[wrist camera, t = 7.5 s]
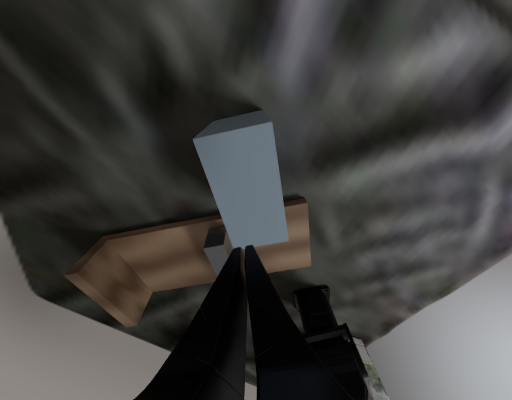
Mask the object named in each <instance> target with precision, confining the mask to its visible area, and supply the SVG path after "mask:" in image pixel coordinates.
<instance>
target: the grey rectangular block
mask: <svg viewBox="0 0 512 400" xmlns="http://www.w3.org/2000/svg"><path fill="white" fill-rule="evenodd" d="M203 249H204V251H205V253H206V255H207V257H208V259H209V261H210V263H211V265H212V267H213V269H214V271H215V273H216V275H217V276H218V275H219V273H220V271H221V269H222V268H223V266H224V264H225V262H226V261H227V259H228V257H229V255H230V253H231V252H232V250H233V246H232V243H231V241H230V238H229V235H228V233H227V230H226V227H225V225H224V226H218V227H213V228H209V230H208V233H207V237H206V240H205V244H204V247H203Z"/></svg>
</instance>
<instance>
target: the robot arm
mask: <svg viewBox="0 0 512 400" xmlns="http://www.w3.org/2000/svg"><path fill="white" fill-rule="evenodd" d="M294 298H295V304H296V310H297V311H298V312H300V315H301V320H302V324H303V328H304V332H305V334H301V332H300V331H299V329H298V328H297V326H296V325H295V323H294V322H293V320H292V318H291V317H290V315H289V314H288V312H287V310H286V308H285V307H284V305H283V303H282V301H281V299H280V297H279V296H278V293H277V291H276V289H275V287H274V285H273V283H272V281H271V280H270V278H269V276H268V274H267V272H266V270H265V268H264V266H263V264H262V262H261V260H260V258H259V256H258V254H257V252H256V250H255V248H254V246H253V245H247V246H246V247H245V255H244V253H243V250H242V248H241V247H236V248H234V249H233V250H232V252H231V253H230V255H229V257H228V259H227V261H226V262H225V264H224V266H223V268H222V269H221V271H220V273H219V275H218V276H217V278H216V280H215V282H214V283H213V285H212V287H211V289H210V290H209V292H208V294H207V296H206V297H205V299H204V301H203V303H202V304H201V306H200V308H199V310H198V311H197V313H196V315H195V317H194V318H193V320H192V322H191V323H190V325H189V327H188V328H187V330H186V331H185V333H184V334H183V336H182V337H181V339H180V340H179V342H178V343H177V345H176V346H175V348H174V349H173V351H172V352H171V354H170V355H169V357H168V358H167V360H166V361H165V362H164V364H163V365H162V367H161V368H160V370H159V371H158V373H157V374H156V375H155V377H154V378H153V380H152V381H151V382H150V383H149V385H148V386H147V387H146V388H145V389H144V390H143V391H142V392H141V393H140V394H139V395H138V396H137V397H136V398H135V399H134V400H244V391H245V362H246V331H247V300H248V303H249V312H250V320H251V329H252V337H253V346H254V354H255V363H256V373H257V400H372V398H371V396H370V393H369V390H368V388H367V385H366V383H365V380H364V378H368V377H369V375H368V373H367V370H366V368H365V365H364V363H363V361H362V358H361V356H360V354H359V351H358V349H357V347H356V344H355V342H354V340H353V337H352V335H351V333H350V331H349V328H348V326H347V324H346V323H344V324H343V325H339V326H338V324H337V321H336V318H335V316H334V313H333V311H332V308H331V306H330V303H329V299H330V289H329V287H327V286H326V287H320V288H313V289H307V290H300V291H295V292H294ZM348 340H349V341H350V342H349V341H348Z"/></svg>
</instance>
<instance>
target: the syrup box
mask: <svg viewBox="0 0 512 400" xmlns="http://www.w3.org/2000/svg"><path fill="white" fill-rule="evenodd" d="M352 337H353V336H352ZM353 340H354V342H355V344H356V347H357V349H358V351H359V354H360V356H361V358H362V361H363V363H364V365H365V368H366V370H367V373H368V375H369V377H368V378H364V380H365V383H366V385H367V388H368V390H369V393H370V396H371V398H372V400H390V399H389V397H388V395H387V393H386V391H385V388H384V386H383V384H382V382H381V380H380V378H379V376H378V373H377V371H376V369H375V367H374V365H373V363H372V361H371V359H370V356H369V354H368V352H367V350H366V348H365V346H364V344H363V341H362V340H361V339H359V338H356V337H353ZM348 341H349V340H348ZM349 342H350V341H349Z"/></svg>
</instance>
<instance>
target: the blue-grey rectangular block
mask: <svg viewBox="0 0 512 400" xmlns="http://www.w3.org/2000/svg"><path fill="white" fill-rule="evenodd" d="M193 142H194V145H195V147H196V150H197V153H198V155H199V158H200V161H201V163H202V166H203V169H204V171H205V174H206V177H207V179H208V182H209V185H210V187H211V190H212V193H213V195H214V198H215V201H216V203H217V206H218V209H219V211H220V214H221V217H222V219H223V222H224V225H225V227H226V230H227V233H228V235H229V238H230V241H231V243H232V246H233V249H234V248H236V247H241V248H242V249H245V247H246V246H247V245H253V246H254V247H257V246H263V245H269V244H274V243H280V242H286V241H289V238H288V231H287V224H286V217H285V210H284V203H283V195H282V188H281V181H280V174H279V167H278V160H277V153H276V146H275V139H274V132H273V125H272V121H271V120H270V118H269V117H268V116H267V115H266V114H265V112H264V111H263V110H260V111H255V112H251V113H246V114H242V115H238V116H233V117H229V118H224V119H220V120H215V121H213V122H212V123H210V124H209V125H208V126H207V127H206V128H205V129H204V130H202V131H201V132H200V133H199V134H198V135H197V136H196V137H194V138H193Z"/></svg>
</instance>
